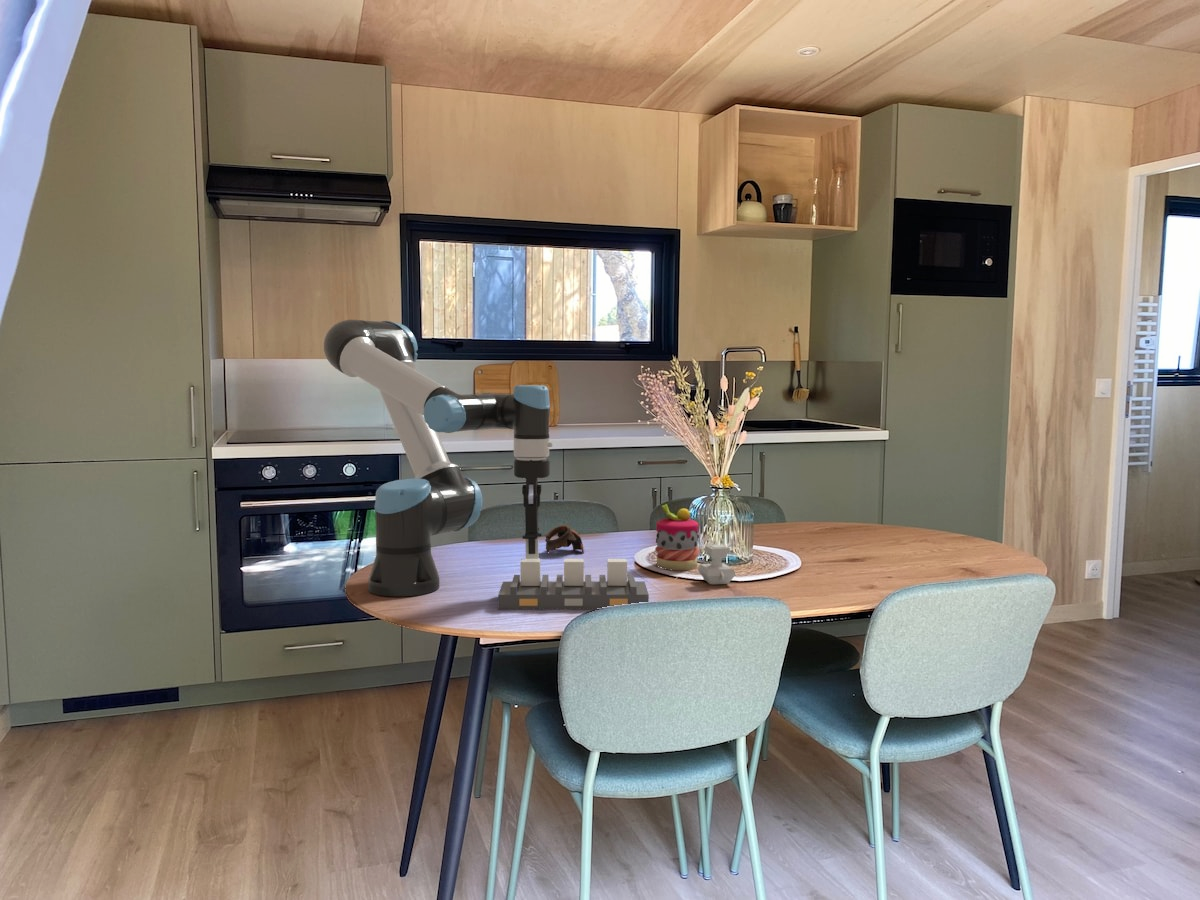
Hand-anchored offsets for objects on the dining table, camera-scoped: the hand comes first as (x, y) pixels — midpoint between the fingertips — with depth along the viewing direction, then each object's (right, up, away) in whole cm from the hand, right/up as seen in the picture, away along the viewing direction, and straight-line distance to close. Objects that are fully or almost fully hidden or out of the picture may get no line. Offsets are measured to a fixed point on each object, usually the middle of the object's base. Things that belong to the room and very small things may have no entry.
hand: (532, 567), depth 190 cm
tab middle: (+9, -3, -5) cm, 11 cm away
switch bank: (+9, -6, -7) cm, 13 cm away
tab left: (0, -3, -5) cm, 6 cm away
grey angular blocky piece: (+41, -5, +10) cm, 42 cm away
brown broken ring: (+5, -2, +43) cm, 43 cm away
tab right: (+18, -3, -5) cm, 19 cm away
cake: (+33, -3, +27) cm, 43 cm away
